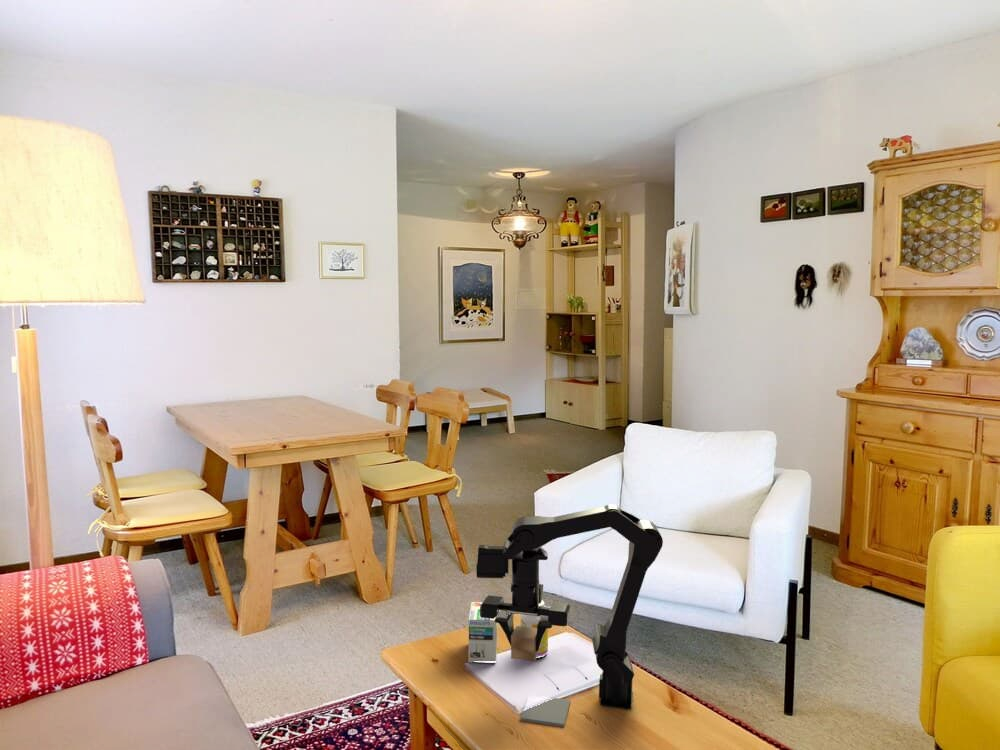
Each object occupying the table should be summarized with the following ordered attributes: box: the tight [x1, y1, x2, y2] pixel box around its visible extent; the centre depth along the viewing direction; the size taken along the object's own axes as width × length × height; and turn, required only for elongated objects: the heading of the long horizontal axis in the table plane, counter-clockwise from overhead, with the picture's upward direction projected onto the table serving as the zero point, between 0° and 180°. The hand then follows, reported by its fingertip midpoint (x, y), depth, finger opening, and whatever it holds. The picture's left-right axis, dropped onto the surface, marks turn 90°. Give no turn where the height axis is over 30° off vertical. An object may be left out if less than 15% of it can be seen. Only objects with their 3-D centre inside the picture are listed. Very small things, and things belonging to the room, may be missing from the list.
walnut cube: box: [510, 625, 539, 662], centre depth 153 cm, size 5×5×5 cm
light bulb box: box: [468, 601, 498, 663], centre depth 173 cm, size 11×7×11 cm, turn 179°
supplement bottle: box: [520, 600, 549, 657], centre depth 173 cm, size 7×7×13 cm
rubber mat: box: [519, 697, 571, 728], centre depth 148 cm, size 9×9×1 cm
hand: (525, 648), depth 153 cm, fingers closed on walnut cube, 5 cm apart
